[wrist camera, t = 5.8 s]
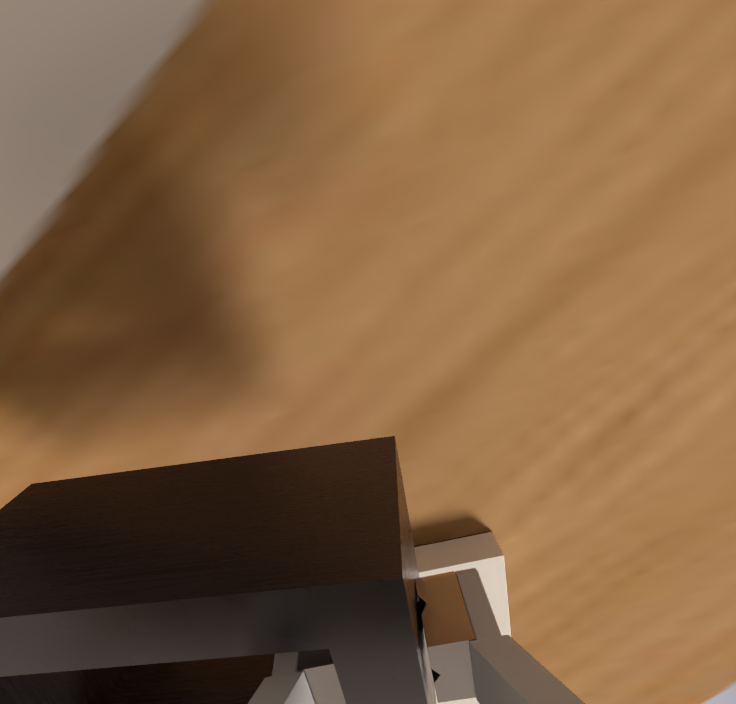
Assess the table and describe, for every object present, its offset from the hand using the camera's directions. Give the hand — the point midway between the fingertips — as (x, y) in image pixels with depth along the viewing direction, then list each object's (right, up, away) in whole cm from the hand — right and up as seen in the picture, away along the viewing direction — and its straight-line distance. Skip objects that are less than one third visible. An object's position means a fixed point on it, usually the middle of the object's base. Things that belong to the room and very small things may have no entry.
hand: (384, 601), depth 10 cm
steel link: (-4, 0, +2) cm, 5 cm away
